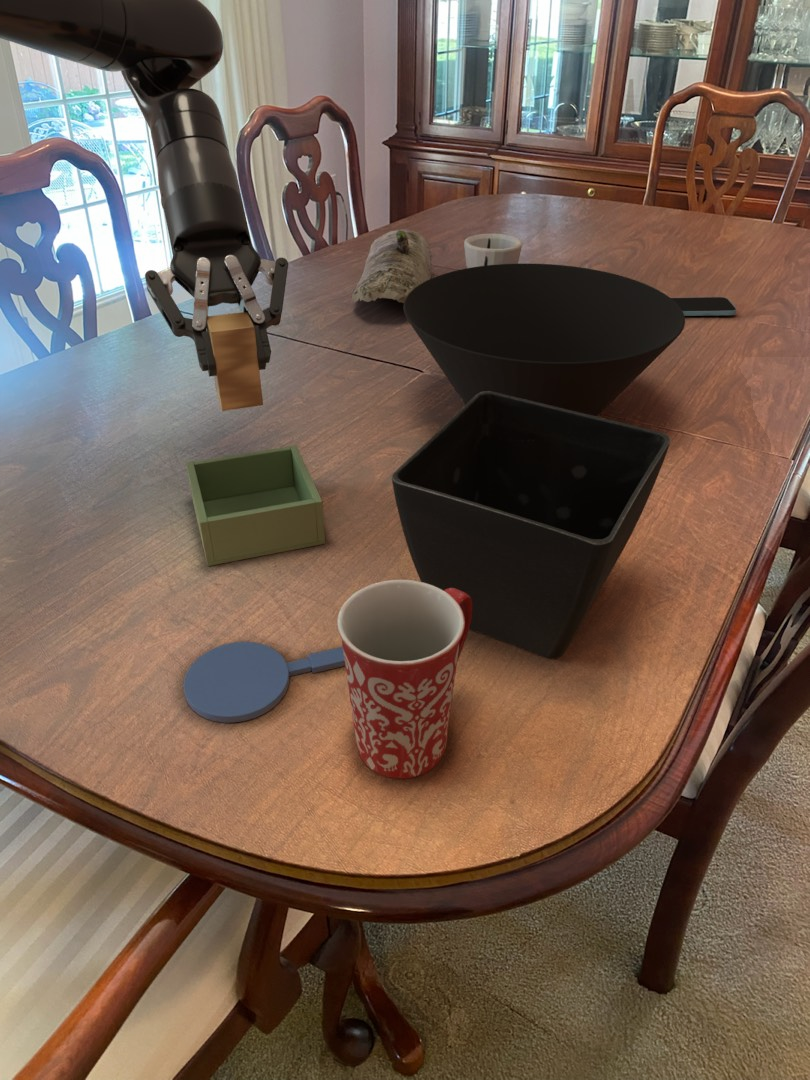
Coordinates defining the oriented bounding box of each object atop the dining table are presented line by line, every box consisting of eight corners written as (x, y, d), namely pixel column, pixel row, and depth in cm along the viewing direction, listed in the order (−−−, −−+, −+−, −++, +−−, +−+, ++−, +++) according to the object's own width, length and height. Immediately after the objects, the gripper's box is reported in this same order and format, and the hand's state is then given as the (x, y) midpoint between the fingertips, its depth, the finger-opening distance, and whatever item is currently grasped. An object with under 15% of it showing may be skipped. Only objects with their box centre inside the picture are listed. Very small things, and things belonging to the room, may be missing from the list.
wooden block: (222, 411, 78) (210, 331, 73) (216, 393, 81) (204, 316, 77) (263, 405, 79) (254, 326, 74) (256, 388, 82) (247, 311, 78)
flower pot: (580, 701, 69) (609, 542, 59) (388, 628, 77) (385, 476, 67) (642, 580, 83) (674, 433, 73) (473, 528, 90) (482, 388, 80)
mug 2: (462, 305, 147) (464, 249, 141) (460, 279, 159) (462, 226, 153) (520, 306, 147) (525, 250, 141) (514, 279, 159) (518, 226, 153)
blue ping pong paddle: (191, 734, 66) (189, 727, 66) (179, 660, 73) (178, 654, 73) (400, 683, 71) (400, 677, 71) (371, 618, 78) (370, 612, 78)
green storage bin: (207, 566, 85) (199, 523, 81) (193, 503, 94) (185, 462, 91) (325, 543, 88) (322, 501, 85) (299, 485, 97) (296, 444, 94)
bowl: (514, 510, 93) (525, 390, 84) (355, 395, 117) (352, 292, 108) (719, 429, 109) (746, 320, 100) (542, 342, 133) (552, 249, 124)
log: (349, 273, 133) (365, 204, 155) (347, 336, 141) (362, 262, 163) (433, 281, 133) (437, 212, 155) (426, 344, 141) (431, 269, 163)
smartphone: (642, 298, 148) (726, 296, 147) (642, 303, 148) (725, 302, 148) (651, 312, 142) (738, 310, 141) (650, 318, 143) (737, 316, 142)
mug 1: (405, 811, 60) (406, 683, 53) (321, 747, 65) (310, 620, 57) (506, 715, 68) (519, 590, 60) (424, 664, 73) (426, 542, 65)
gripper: (121, 185, 73) (157, 365, 71) (278, 173, 77) (316, 344, 75) (130, 230, 80) (162, 394, 78) (273, 217, 84) (307, 374, 82)
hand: (237, 369), depth 76 cm, fingers closed on wooden block, 4 cm apart
